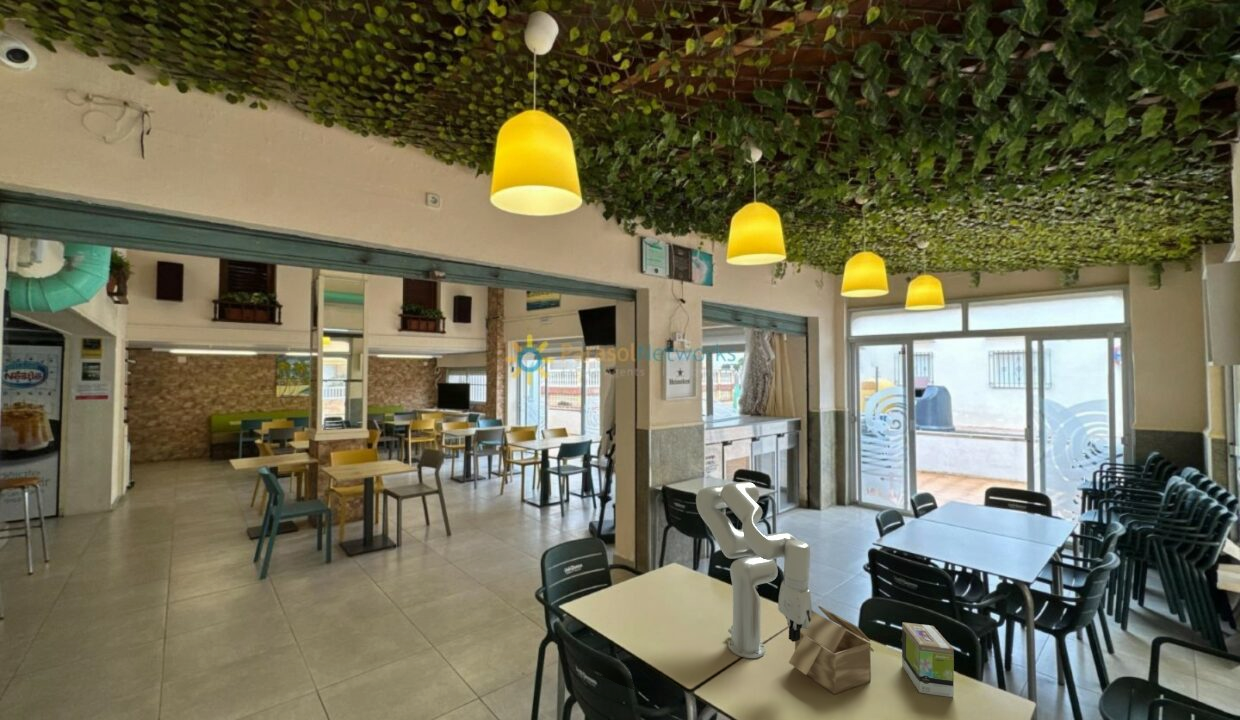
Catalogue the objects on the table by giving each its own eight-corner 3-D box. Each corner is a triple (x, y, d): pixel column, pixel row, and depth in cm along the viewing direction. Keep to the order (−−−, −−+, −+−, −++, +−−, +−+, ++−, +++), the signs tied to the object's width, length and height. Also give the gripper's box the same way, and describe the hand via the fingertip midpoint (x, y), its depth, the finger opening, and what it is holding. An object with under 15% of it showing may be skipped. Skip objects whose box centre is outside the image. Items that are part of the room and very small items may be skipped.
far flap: (818, 607, 168) (818, 605, 168) (845, 635, 173) (845, 634, 173) (856, 628, 154) (857, 626, 154) (885, 658, 159) (885, 657, 159)
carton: (795, 666, 163) (795, 629, 164) (829, 655, 170) (829, 620, 170) (834, 694, 149) (834, 654, 149) (870, 681, 155) (870, 643, 156)
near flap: (846, 630, 152) (845, 629, 152) (816, 683, 146) (816, 682, 146) (808, 608, 166) (807, 607, 166) (779, 656, 160) (779, 655, 160)
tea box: (955, 698, 148) (954, 648, 148) (918, 693, 150) (918, 644, 150) (934, 669, 163) (933, 624, 163) (900, 665, 165) (900, 620, 165)
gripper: (770, 573, 159) (768, 629, 159) (805, 594, 146) (803, 655, 146) (787, 570, 162) (786, 625, 162) (823, 590, 149) (821, 650, 149)
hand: (794, 639), depth 154 cm, fingers closed
